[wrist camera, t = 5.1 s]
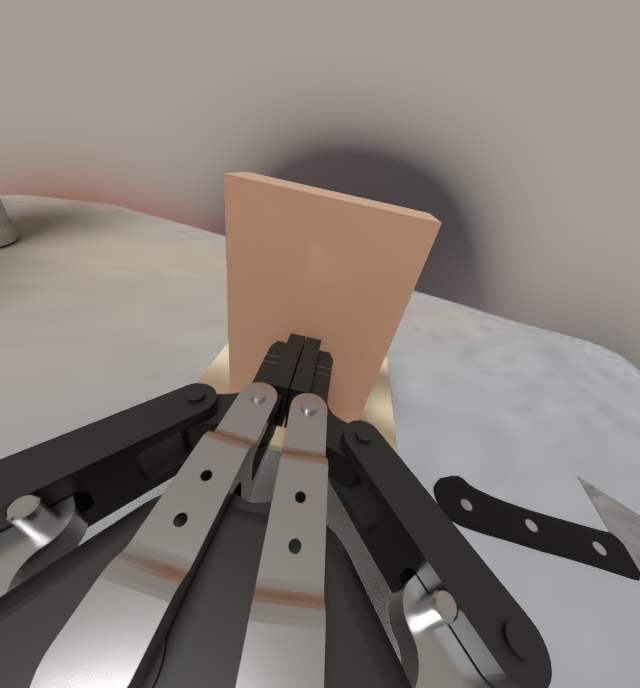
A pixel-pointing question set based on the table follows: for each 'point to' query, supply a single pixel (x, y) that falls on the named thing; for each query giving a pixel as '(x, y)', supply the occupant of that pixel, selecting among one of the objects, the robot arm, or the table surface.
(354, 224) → the tile
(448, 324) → the table surface
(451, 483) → the kitchen knife
